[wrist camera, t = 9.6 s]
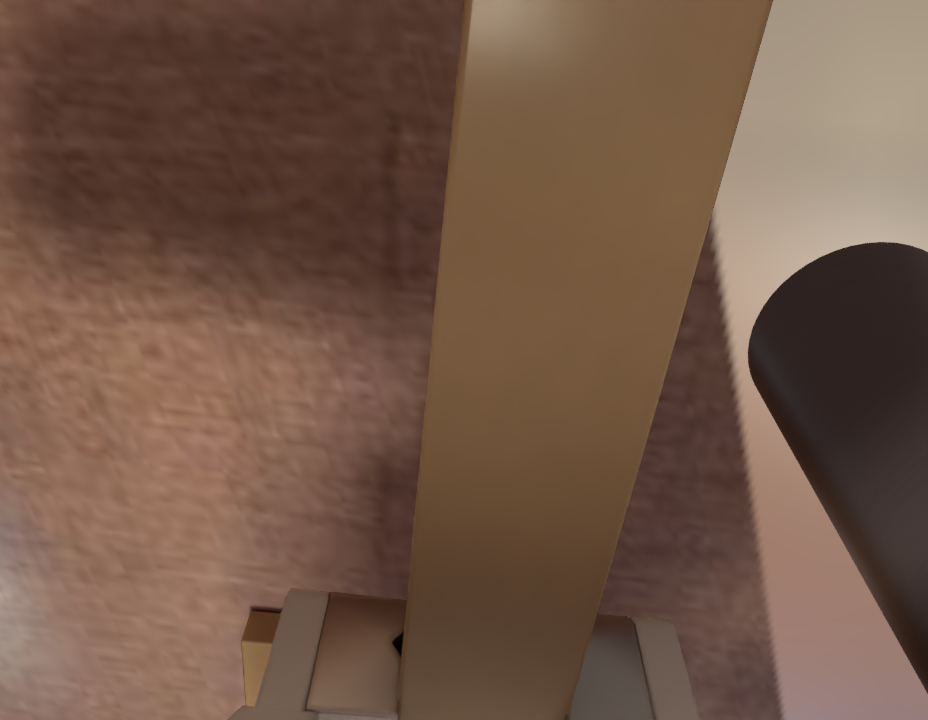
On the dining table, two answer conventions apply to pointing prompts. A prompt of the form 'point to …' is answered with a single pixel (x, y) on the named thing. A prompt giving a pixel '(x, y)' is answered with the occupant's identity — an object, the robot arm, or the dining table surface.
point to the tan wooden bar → (556, 325)
